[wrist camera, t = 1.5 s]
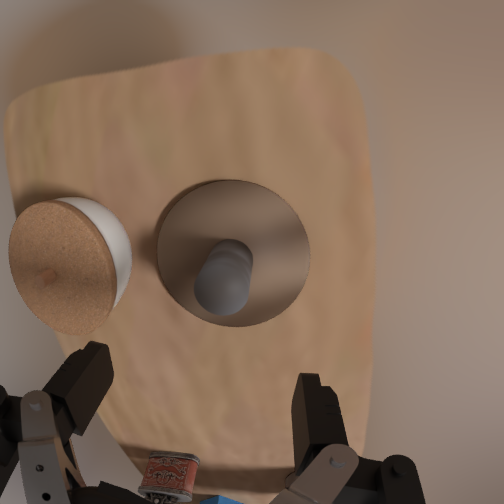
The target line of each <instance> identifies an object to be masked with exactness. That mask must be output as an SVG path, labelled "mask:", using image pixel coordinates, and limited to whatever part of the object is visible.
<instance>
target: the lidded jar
mask: <svg viewBox="0 0 504 504" xmlns="http://www.w3.org/2000/svg"><path fill="white" fill-rule="evenodd" d="M9 262H10V268H11V273H12V276H13V279H14V282H15V285H16V287H17V289H18V292H19V293H20V295H21V297H22V298H23V300H24V302H25V303H26V305H27V306H28V307H29V309H30V310H31V311H32V312H33V313H34V314H35V315H36V316H37V317H38V318H39V319H40V320H41V321H42V322H44V323H45V324H47V325H48V326H50V327H51V328H53V329H55V330H57V331H60V332H62V333H66V334H70V335H82V334H87V333H90V332H92V331H94V330H95V329H97V328H98V327H99V326H100V325H101V324H102V323H103V322H104V321H105V320H106V319H107V317H108V316H109V314H110V312H111V311H112V309H113V308H114V307H115V306H116V304H117V303H118V301H119V300H120V298H121V296H122V295H123V293H124V291H125V289H126V287H127V284H128V281H129V279H130V275H131V270H132V249H131V245H130V241H129V238H128V235H127V232H126V231H125V229H124V227H123V225H122V223H121V222H120V221H119V219H118V218H117V217H116V216H115V215H114V213H113V212H112V211H110V210H109V209H108V208H107V207H105V206H103V205H102V204H100V203H98V202H96V201H93V200H90V199H86V198H80V197H64V198H58V199H54V200H45V201H41V202H38V203H35V204H32V205H31V206H29V207H27V208H26V209H25V210H24V211H23V212H22V213H21V214H20V215H19V217H18V218H17V219H16V221H15V224H14V226H13V228H12V231H11V235H10V240H9Z"/></svg>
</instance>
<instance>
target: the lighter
mask: <svg viewBox="0 0 504 504" xmlns="http://www.w3.org/2000/svg"><path fill="white" fill-rule="evenodd" d="M199 462H200V459H199V458H198V457H197V456H196V455H193V454H187V453H178V452H151V453H150V456H149V463H148V466H147V469H146V471H145V474H144V477H143V481H142V483H141V486H139V488H138V492H139V493H140V494H141V495H143V496H145V498H144V499H146V500H148V501H150V502H152V503H155V504H181V503H177V502H191V501H192V490H193V485H194V480H195V475H196V470H197V467H198V466H199Z"/></svg>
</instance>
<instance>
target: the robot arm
mask: <svg viewBox="0 0 504 504" xmlns="http://www.w3.org/2000/svg"><path fill="white" fill-rule="evenodd" d="M113 378H114V371H113V366H112V361H111V357H110V352H109V347H108V345H106V344H103V343H99V342H95V341H90V342H89V343H88V344H87V345H86V346H85V348H84V349H83V350H81V349H79V350H77V351H76V352H74V353H72V354H71V355H70V356H69V357H68V358H67V359H66V361H65V362H64V364H62V365H61V367H60V368H59V370H57V372H56V373H55V374H54V375H53V377H52V378H51V379H50V381H49V382H48V383H47V384H46V385H45V387H44V388H43V389H42V390H34V391H31V392H28V393H27V394H25V395H24V396H23V397H17V396H10V395H8V394H7V392H6V390H5V388H4V387H3V386H1V385H0V497H1V495H2V493H3V491H4V488H5V487H6V484H7V482H8V480H9V478H10V476H11V474H12V472H13V471H14V469H15V467H16V465H17V463H18V461H20V468H21V474H22V480H23V486H24V491H25V496H26V500H27V504H155V503H152V502H150V501H148V500H146V499H144V498H142V497H140V496H138V495H136V494H135V493H133V492H131V491H129V490H127V489H124V488H121V487H118V486H114V485H112V484H109V483H106V482H103V481H100V484H99V486H98V487H96V486H95V487H94V486H88V487H87V486H86V484H85V482H84V480H83V478H82V476H81V473H80V470H79V467H78V463H77V460H76V457H75V453H74V450H73V445H72V442H71V439H70V437H71V435H72V433H75V434H77V435H80V436H82V435H83V434H84V432H85V430H86V428H87V426H88V424H89V422H90V421H91V419H92V417H93V416H94V414H95V412H96V410H97V409H98V407H99V405H100V403H101V402H102V400H103V398H104V396H105V395H106V393H107V391H108V389H109V388H110V386H111V384H112V382H113ZM291 414H292V429H293V445H294V462H295V472H294V473H292V474H290V475H289V476H288V477H287V478H286V480H285V489H284V490H282V491H281V492H280V493H279V494H278V495H277V496H276V497H275V498H274V499H273V500H272V501H271V502H270V503H269V504H426V503H425V499H424V495H423V491H422V487H421V483H420V480H419V476H418V473H417V470H416V466H415V464H414V462H413V461H412V460H411V459H410V458H408V457H406V456H403V455H392V456H389V457H387V458H386V459H385V460H384V461H383V462H382V461H376V460H370V459H365V458H362V457H360V456H358V455H357V453H356V452H355V451H354V450H353V449H352V448H350V447H349V444H348V441H347V436H346V432H345V427H344V423H343V419H342V415H341V410H340V407H339V402H338V397H337V395H336V393H335V392H334V391H333V390H332V388H331V387H330V386H321V383H320V378H319V374H314V373H300V374H299V376H298V380H297V384H296V388H295V391H294V395H293V399H292V407H291Z"/></svg>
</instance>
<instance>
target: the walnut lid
mask: <svg viewBox="0 0 504 504" xmlns="http://www.w3.org/2000/svg"><path fill="white" fill-rule="evenodd" d="M157 259H158V266H159V270H160V273H161V276H162V279H163V281H164V283H165V285H166V287H167V289H168V290H169V292H170V293H171V294H172V296H173V297H174V298H175V299H176V301H177V302H178V303H179V304H180V305H181V306H183V307H184V308H185V309H186V310H187V311H189V312H190V313H192V314H193V315H195V316H197V317H198V318H200V319H202V320H205V321H207V322H210V323H213V324H217V325H221V326H228V327H244V326H251V325H256V324H259V323H262V322H265V321H268V320H270V319H272V318H274V317H275V316H277V315H279V314H280V313H282V312H283V311H284V310H285V309H286V308H288V307H289V306H290V305H291V304H292V303H293V301H294V300H295V299H296V298H297V296H298V295H299V293H300V292H301V290H302V288H303V286H304V284H305V281H306V279H307V276H308V271H309V267H310V247H309V242H308V237H307V234H306V232H305V229H304V226H303V224H302V223H301V221H300V219H299V217H298V215H297V214H296V213H295V211H294V210H293V209H292V207H291V206H290V205H289V204H288V203H287V202H286V201H285V200H284V199H282V198H281V197H280V196H279V195H277V194H276V193H274V192H273V191H271V190H269V189H267V188H265V187H263V186H260V185H258V184H255V183H251V182H247V181H240V180H224V181H217V182H213V183H209V184H206V185H204V186H201V187H199V188H197V189H195V190H193V191H191V192H190V193H188V194H187V195H185V196H184V197H183V198H182V199H181V200H179V201H178V202H177V203H176V204H175V205H174V207H173V208H172V209H171V210H170V212H169V213H168V215H167V216H166V218H165V220H164V222H163V224H162V226H161V230H160V233H159V237H158V243H157Z"/></svg>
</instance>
